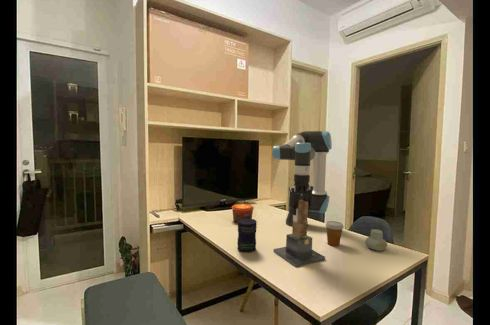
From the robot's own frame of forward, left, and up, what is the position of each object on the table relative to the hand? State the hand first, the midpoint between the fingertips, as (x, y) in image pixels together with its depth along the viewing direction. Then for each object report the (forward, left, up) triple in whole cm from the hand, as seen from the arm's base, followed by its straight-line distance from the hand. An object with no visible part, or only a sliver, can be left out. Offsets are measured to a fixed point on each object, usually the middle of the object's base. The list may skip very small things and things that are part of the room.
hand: (299, 220), depth 128 cm
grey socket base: (0, 0, -18) cm, 18 cm away
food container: (0, -63, -18) cm, 66 cm away
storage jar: (+20, -18, -18) cm, 32 cm away
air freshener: (-45, +10, -18) cm, 50 cm away
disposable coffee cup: (-28, -4, -18) cm, 34 cm away
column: (0, 0, -10) cm, 10 cm away
